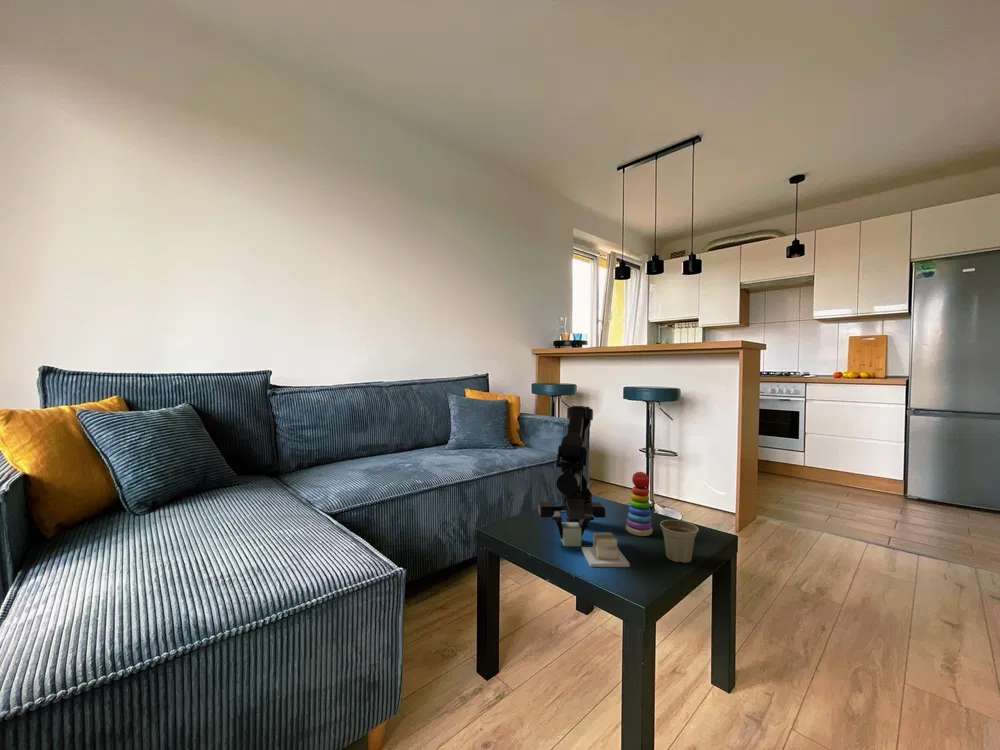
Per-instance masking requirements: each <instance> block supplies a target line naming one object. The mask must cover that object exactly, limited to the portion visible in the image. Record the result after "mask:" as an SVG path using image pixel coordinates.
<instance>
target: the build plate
mask: <svg viewBox="0 0 1000 750" xmlns="http://www.w3.org/2000/svg"><path fill="white" fill-rule="evenodd" d="M581 551H582V553H583V556H584V557H585V559H586V561H587V563H588V565H589V566H590V568H598V567H599V568H630V567H631V566H630V565H631V563H630V562H629V561H628V560H627V558H626V557H625V555H624V554H623V553H622V552H621V550H620V549H619V547H617V559H597V557H596V555H595V554H594V552H593V546H581Z"/></svg>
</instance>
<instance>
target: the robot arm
mask: <svg viewBox="0 0 1000 750" xmlns="http://www.w3.org/2000/svg"><path fill="white" fill-rule="evenodd" d="M566 419H567V420H568V422H569V424H568V428H567V434H566V435H565V436H564V437H562V439H561V443H560V444H559V445H558V449H557V450H558V451H557V457H556V464H555V465H556V468H560V469H561V472H560V474H559V476H558V477H557V479H556V488H557V490H558V491H559V492H560V493H561V496H560V497H561V500H560V501H561V502H560V503H561V504H560V505H554V504H553V501H540V502H538V504H537V511H538V514H539V517H540V518H550V520H552V521H554V522H555V523H556V526H557V530H558V533H559V537H560V540H561V539H563V531H562V522H563V518H562V516H561V514H563V513H564V514H565V513H566V517H565V518H564V521H565V522H578V524H579V525H580V527H581V529H582V531H581V539H582V538H583V535H584V533H585V530H586V528H589V526H590V525H589V522H591V521H593V520H595V518H597V519H599V518H603V519H604V518H606V514H607V513H606V508H605V507H604V505H602V504H601V502H599V501H593V493H592V492H591V490H590V489H591V488H589V483H588V482H587V480H586V478H585V467H586V466H587V464H588V463H587V462H588V449H587V447H586V435H587V434H586V433H587V432H588V431H589V429H590V428H591V425H592V424H591V423H592V421H593V419H594V410H593V408H591V407H590V406H583V405H572V406H570V407H567V410H566Z"/></svg>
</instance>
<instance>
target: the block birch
mask: <svg viewBox="0 0 1000 750" xmlns="http://www.w3.org/2000/svg"><path fill="white" fill-rule="evenodd" d="M592 547H593V552H594V554H595V555H596V557H597V559H617V548H618V539H617V538H616V537H615V535H614V534H613V533H612V532H592Z"/></svg>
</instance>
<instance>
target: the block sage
mask: <svg viewBox="0 0 1000 750" xmlns="http://www.w3.org/2000/svg"><path fill="white" fill-rule="evenodd" d="M562 531H563V539H561V538H560V541H561V543H562V544H563V547H582V538H581V531H582V529H581V527H580V525H579V524H578V522H566V521H565V522H564V521H562Z"/></svg>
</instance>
